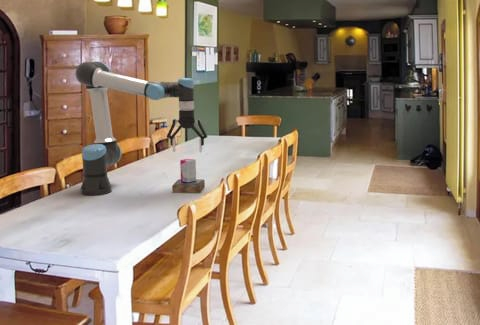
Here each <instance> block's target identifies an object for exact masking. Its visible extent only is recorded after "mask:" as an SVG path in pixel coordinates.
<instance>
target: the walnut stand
mask: <svg viewBox="0 0 480 325" xmlns="http://www.w3.org/2000/svg"><path fill="white" fill-rule="evenodd" d="M205 183H206V182H205V179H198V178H196V182H192V183H183V182H181V178H179V179H177V180H176V181H175V182H174V183H173V184H172V185H171V186H172V188H171V190H172V193H178V194H181V193H183V194H186V193H188V194H201V193H202V192H203V190H204V189H205V186H206V185H205Z"/></svg>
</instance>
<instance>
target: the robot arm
mask: <svg viewBox="0 0 480 325" xmlns="http://www.w3.org/2000/svg"><path fill="white" fill-rule="evenodd" d="M74 75H75V78H76V80H77V81H78V83H79V84H81V85H83V86H85V89H86V91H87V92H89V96H90V104H91V105H90V106H91V111H92V117H93V126H94V131H95V140H94V141H93V144H91V145H90V144H88V145H86V146H84V147H83V148H82V150H81V152H82V153H81V159H82V173H83V180H82V183H81V185H80V186H81V187H80V194H81V195H85V196H100V195H106V194H110V193H111V192H112V191H113V190H112V189H113V188H112V185H111V182H110V179H109V177H108V168H109V167H112V166H114V165H116V164H117V163H118V162H119V161H120V160H121V158H122V153H123V152H122V149H121V147H120V145H119V144H118V143H117V142H118V141H117V138H115V137H114V135H113V129H112V120H111V112H110V106H109V97H108V90H109V89H111V90H116V91H120V92H123V93H124V92H125V93H129V94H133V95H136V96H142V97H145V98H148V99H150V100H151V101H158V100H163V99H167V98H178V109H179V110H178V119H176V118H173V119H172V124H171V126H170V129H169V130H168V132H167V134H166V138H168V139H169V140H170V145H171V146H172V153H175V152H176V138H175V137H176V135H177V134H178V133H179V132H180V131H181V129H182V128H183V129H189V130H190V129H192V131H194V133H195V134H196V135H197V136H198V137H199V139H198V140H199V142H198V144H199V153H202V152H203V146H204V145H205V139H207V138H208V134H207V132H206V130H205V128H204V126H203V125H202V119H201V118H199V119H195V110H194V109H195V98H194V97H195V95H194V94H195V93H194V92H195V91H194V90H195V86H194V80H193V78H190V77H183V78H181V77H179V78H178V81H175V82H174V81H172V82H170V81H159V82H154V81H149V80H145V79H141V78H136V77H131V76H126V75H122V74H119V73H115V72H112V71H111V68H110V67H109V66H108V64H106V63H105V62H102V61H96V60H95V61H84V62H82V63H79V64H78V66H76V69H75V74H74ZM177 124H179V126H178V127H177V129H176V130H175V131H174V128H175V126H176V125H177ZM195 124H196V125H197V126H198V127H199V130H198V129H197V127H196V125H195ZM173 131H174V132H173ZM200 131H201V132H200Z"/></svg>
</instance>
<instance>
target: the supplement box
mask: <svg viewBox="0 0 480 325" xmlns="http://www.w3.org/2000/svg"><path fill="white" fill-rule="evenodd" d="M179 163H180V164H179V165H180V179H181V182H183V183H192V182H196V179H197V161H196V159H194V158H185V159H180V161H179Z"/></svg>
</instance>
